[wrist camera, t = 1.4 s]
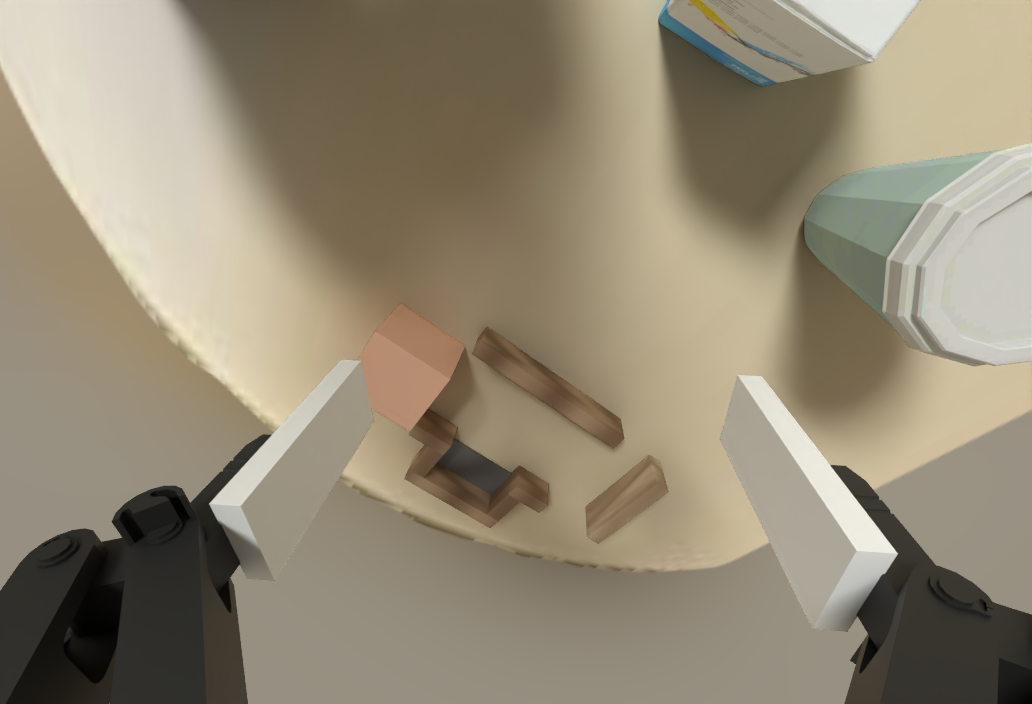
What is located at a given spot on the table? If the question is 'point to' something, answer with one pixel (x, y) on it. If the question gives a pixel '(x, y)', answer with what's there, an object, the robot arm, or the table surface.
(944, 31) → the table surface
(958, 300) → the disposable coffee cup
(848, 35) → the ink box
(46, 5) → the table surface
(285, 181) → the table surface
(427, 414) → the open wooden frame
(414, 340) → the block
